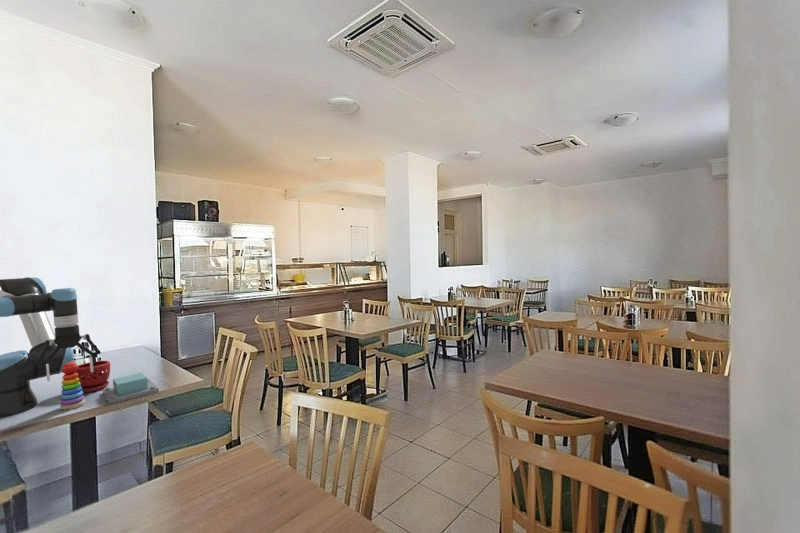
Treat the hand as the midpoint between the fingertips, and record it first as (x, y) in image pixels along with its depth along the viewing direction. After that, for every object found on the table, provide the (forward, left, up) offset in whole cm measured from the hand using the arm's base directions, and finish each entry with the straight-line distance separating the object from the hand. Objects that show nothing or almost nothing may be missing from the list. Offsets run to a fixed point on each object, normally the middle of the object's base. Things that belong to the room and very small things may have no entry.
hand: (70, 376), depth 156 cm
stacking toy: (0, 0, -13) cm, 13 cm away
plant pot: (+9, +20, -13) cm, 26 cm away
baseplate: (+20, 0, -13) cm, 24 cm away
